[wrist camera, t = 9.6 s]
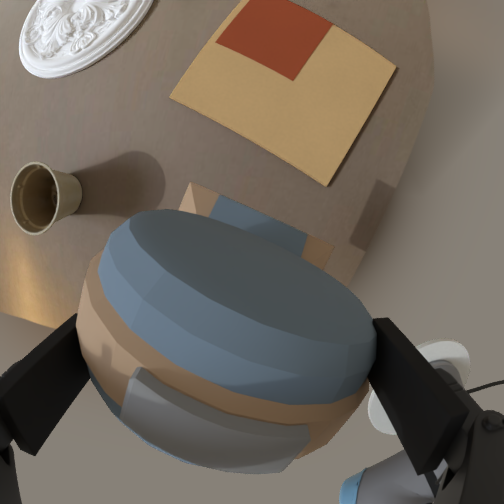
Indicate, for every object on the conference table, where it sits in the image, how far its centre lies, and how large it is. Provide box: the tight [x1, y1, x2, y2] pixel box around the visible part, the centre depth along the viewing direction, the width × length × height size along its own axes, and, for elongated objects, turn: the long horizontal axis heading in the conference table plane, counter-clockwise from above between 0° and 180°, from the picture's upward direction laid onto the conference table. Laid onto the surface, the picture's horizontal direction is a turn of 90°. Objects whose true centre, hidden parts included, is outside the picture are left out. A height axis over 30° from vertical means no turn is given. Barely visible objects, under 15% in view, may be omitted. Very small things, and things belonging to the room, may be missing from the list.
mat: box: [169, 0, 396, 187], centre depth 35 cm, size 24×22×1 cm
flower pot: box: [10, 162, 82, 235], centre depth 34 cm, size 9×9×9 cm
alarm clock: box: [76, 182, 377, 474], centre depth 15 cm, size 14×10×18 cm
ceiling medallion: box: [19, 0, 154, 79], centre depth 29 cm, size 28×28×3 cm
